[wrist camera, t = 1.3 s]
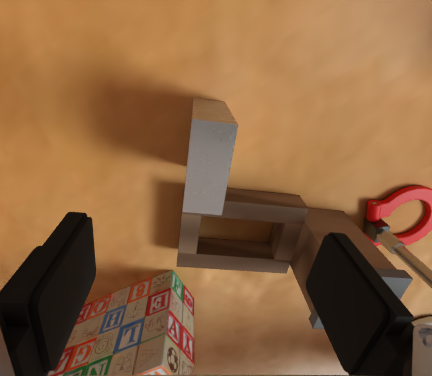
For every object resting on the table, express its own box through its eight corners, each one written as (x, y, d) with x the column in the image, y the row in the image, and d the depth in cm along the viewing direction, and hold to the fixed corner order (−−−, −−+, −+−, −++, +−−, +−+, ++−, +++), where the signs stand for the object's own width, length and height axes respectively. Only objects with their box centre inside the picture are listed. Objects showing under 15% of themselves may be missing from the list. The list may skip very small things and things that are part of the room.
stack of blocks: (67, 346, 40) (18, 456, 29) (37, 322, 37) (-29, 433, 26) (195, 298, 37) (194, 400, 26) (173, 267, 34) (162, 367, 24)
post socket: (325, 259, 35) (374, 339, 25) (178, 249, 33) (170, 332, 23) (350, 200, 31) (419, 267, 22) (184, 183, 29) (178, 250, 19)
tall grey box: (225, 102, 25) (238, 124, 17) (214, 169, 29) (221, 215, 20) (193, 97, 25) (192, 118, 17) (186, 166, 28) (182, 211, 20)
